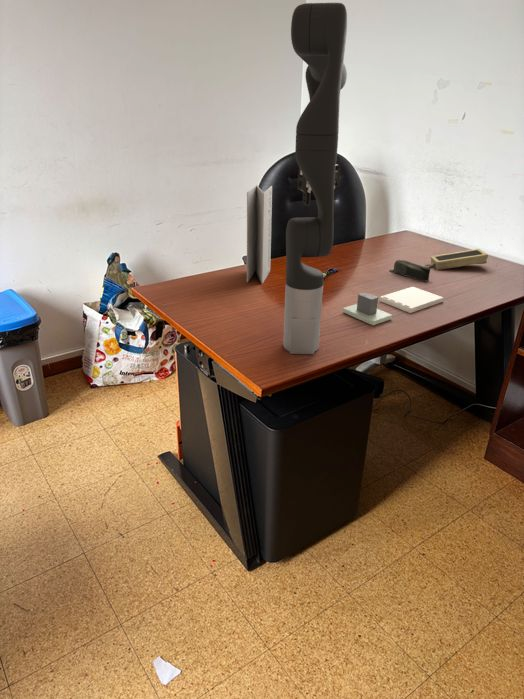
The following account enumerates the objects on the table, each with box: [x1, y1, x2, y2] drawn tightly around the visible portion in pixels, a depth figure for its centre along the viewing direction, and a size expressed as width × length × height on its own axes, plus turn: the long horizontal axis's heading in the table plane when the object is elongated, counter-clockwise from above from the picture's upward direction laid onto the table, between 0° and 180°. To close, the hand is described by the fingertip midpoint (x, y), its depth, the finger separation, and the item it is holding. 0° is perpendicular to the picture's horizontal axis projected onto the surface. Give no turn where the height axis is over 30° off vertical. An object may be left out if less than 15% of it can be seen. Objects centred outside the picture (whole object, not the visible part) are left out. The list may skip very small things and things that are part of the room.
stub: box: [342, 292, 393, 326], centre depth 154 cm, size 8×12×6 cm, turn 37°
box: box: [423, 248, 489, 271], centre depth 198 cm, size 8×22×5 cm, turn 93°
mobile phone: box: [389, 259, 431, 282], centre depth 188 cm, size 5×3×15 cm
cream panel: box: [379, 286, 444, 314], centre depth 166 cm, size 16×12×2 cm
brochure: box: [246, 184, 273, 284], centre depth 179 cm, size 14×6×30 cm, turn 168°
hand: (317, 203), depth 152 cm, fingers open, 8 cm apart
